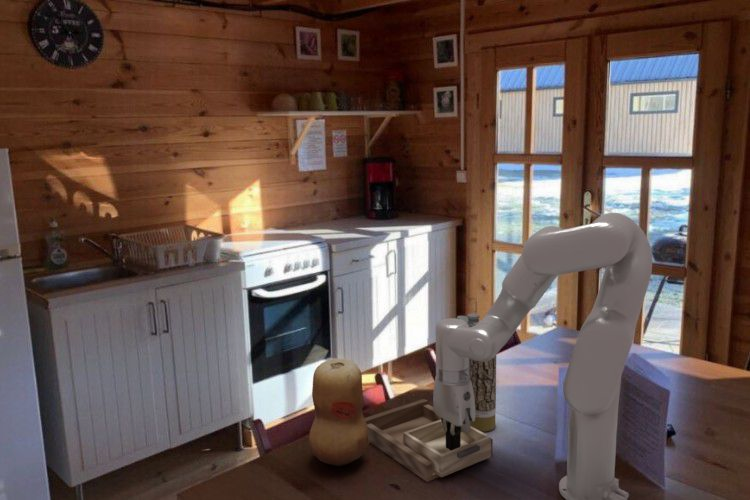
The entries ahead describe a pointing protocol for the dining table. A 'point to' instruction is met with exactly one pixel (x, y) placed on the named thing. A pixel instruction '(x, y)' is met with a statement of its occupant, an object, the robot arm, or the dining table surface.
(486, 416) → the wooden log
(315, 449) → the butternut squash
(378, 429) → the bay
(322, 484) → the dining table surface
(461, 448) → the crate
